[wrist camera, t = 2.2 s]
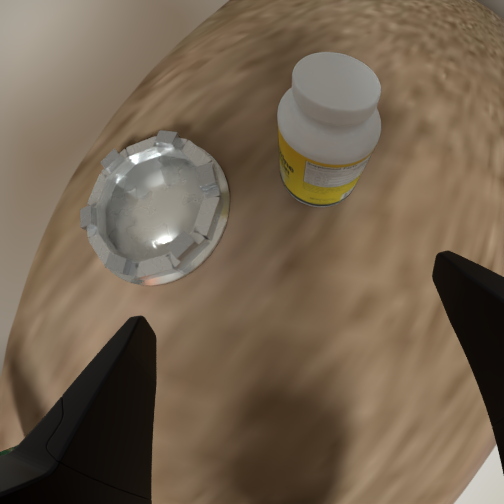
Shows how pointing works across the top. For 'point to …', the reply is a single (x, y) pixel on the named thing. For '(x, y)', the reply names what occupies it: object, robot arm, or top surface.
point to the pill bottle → (327, 127)
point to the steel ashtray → (157, 210)
